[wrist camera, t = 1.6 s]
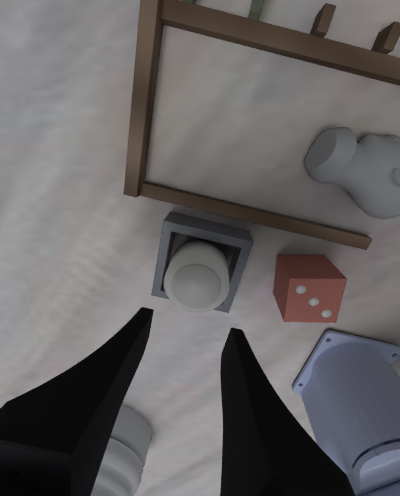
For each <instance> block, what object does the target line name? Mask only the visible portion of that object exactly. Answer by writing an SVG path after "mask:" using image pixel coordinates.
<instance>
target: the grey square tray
mask: <svg viewBox="0 0 400 496" xmlns="http://www.w3.org/2000/svg"><path fill="white" fill-rule="evenodd" d="M174 232H177V233H181V234H185V235H189V236H193V237H198V238H202V239H206V240H210V241H214V242H219V243H223V244H227V245H231V246H236V248H235V251H234V254H233V257H232V261H231V264H230V267H229V270H228V274H229V292H228V295H227V297H226V299H225V300H224V302H223V303H222V304H221V305H219V306H218V307H216V308H215V309H214V310H218V311H223V312H227V313H229V310H230V308H231V305H232V302H233V299H234V296H235V293H236V290H237V288H238V285H239V282H240V279H241V276H242V273H243V270H244V268H245V265H246V262H247V259H248V256H249V253H250V250H251V247H252V245H253V239H252V237H251V234H250V231H247V230H243V229H239V228H235V227H231V226H226V225H222V224H218V223H214V222H210V221H206V220H201V219H197V218H193V217H189V216H185V215H181V214H176V213H172V212H170V213H169V214H168V215H167V217H166V218H165V219H164V222H163V228H162V234H161V240H160V246H159V252H158V258H157V264H156V270H155V276H154V282H153V288H152V294H151V295H153V296H157V297H162V298H166V299H169V297H168V296H167V294H166V292H165V289H164V277H165V274H166V271H167V269H168V264H169V259H170V253H171V248H172V243H173V238H174Z"/></svg>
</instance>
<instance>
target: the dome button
mask: <svg viewBox="0 0 400 496" xmlns="http://www.w3.org/2000/svg"><path fill="white" fill-rule="evenodd" d="M164 289H165V292H166V294H167V296H168V297H169V299H170V300H171V301H172V302H173V303H174V304H175V305H176V306H178V307H180V308H182V309H184V310H187V311H190V312H206V311H210V310H213V309H215V308H216V307H218V306H219V305H221V304H222V303H223V302H224V300H225V299H226V297H227V295H228V292H229V274H228V262H227V259H226V256H225V254H224V253H223V251H222V250H221V249H220V248H219V247H218V246H216V245H215V244H213V243H211V242H208V241H204V240H193V241H189V242H186V243H184V244H183V245H181V246H180V247H179V248H178V249H177V250H176V251H175V253H174V255H173V257H172V259H171V262H170V264H169V267H168V269H167V271H166V274H165V277H164Z"/></svg>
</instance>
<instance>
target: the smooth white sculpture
mask: <svg viewBox="0 0 400 496" xmlns="http://www.w3.org/2000/svg"><path fill="white" fill-rule="evenodd" d="M305 167H306V169H307V171H308V173H309V174H310V176H311V178H312V179H313V180H314V181H316V182H319V183H332V184H335V185H338V186H340V187H342V188H344V189H346V190H347V191H348V192H349V193H350V194H351V196H352V197H353V199H354V201H355V202H356V204H357V205H358V206H359V207H360V208H361V209H362V210H363V211H364V212H365V213H366V214H368V215H370V216H372V217H375V218H380V219H389V218H394V217H398V216H400V137H398V136H397V135H390V136H384V137H382V136H377V135H375V134H369V135H366V136H365V137H363V138H362V139H361V140H360V141H359V143H357V141H356V137H355V135H354V133H353V132H352V130H351V129H349V128H347V127H340V128H334V129H328V130H326V131H324V132H323V133H322V134H321V135H320V136H319V137H318V138H317V139H316V141H315V142H314V143H313V145H312V147H311V148H310V150H309V152H308V154H307V156H306V159H305Z"/></svg>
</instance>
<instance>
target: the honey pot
mask: <svg viewBox="0 0 400 496" xmlns="http://www.w3.org/2000/svg"><path fill="white" fill-rule="evenodd" d="M150 440H151V429H150V427H149V425H148V423H147V422H146V421H145V420H144V419H143V418H142V417H141V416H140V415H139V414H138V413H136V412H135V411H133V410H132V409H130V408H128V407H125V406H123V405H121V407H120V410H119V413H118V416H117V419H116V421H115V424H114V427H113V430H112V433H111V436H110V439H109V442H108V445H107V448H106V451H105V454H104V457H103V460H102V463H101V466H100V469H99V472H98V475H97V478H96V481H95V484H94V487H93V490H92V493H91V496H134V494H135V493H136V492H137V489H138V487H139V484H140V482H141V475H142V473H143V467H144V465H145V461H146V457H147V453H148V448H149V444H150Z"/></svg>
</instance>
